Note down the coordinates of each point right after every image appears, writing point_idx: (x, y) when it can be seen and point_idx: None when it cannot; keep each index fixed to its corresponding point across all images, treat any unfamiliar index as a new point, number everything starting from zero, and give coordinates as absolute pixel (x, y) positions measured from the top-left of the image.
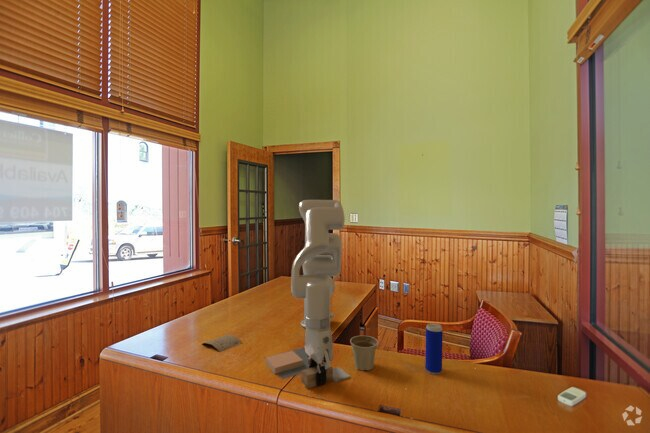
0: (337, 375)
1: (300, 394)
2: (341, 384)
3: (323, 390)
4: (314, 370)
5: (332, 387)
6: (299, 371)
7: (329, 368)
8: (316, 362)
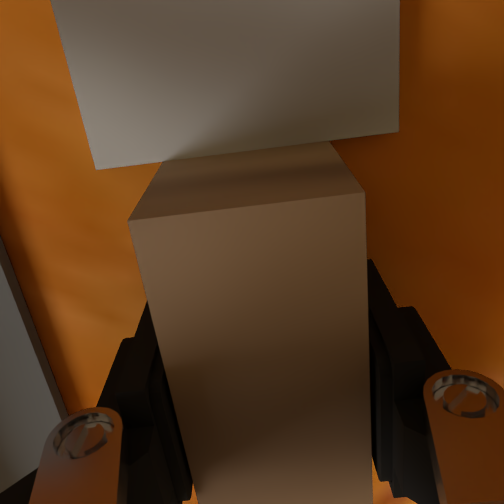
0: (286, 27)
1: (393, 499)
2: (483, 64)
3: (458, 320)
4: (294, 475)
5: (469, 209)
6: (16, 429)
7: (357, 261)
8: (147, 450)
